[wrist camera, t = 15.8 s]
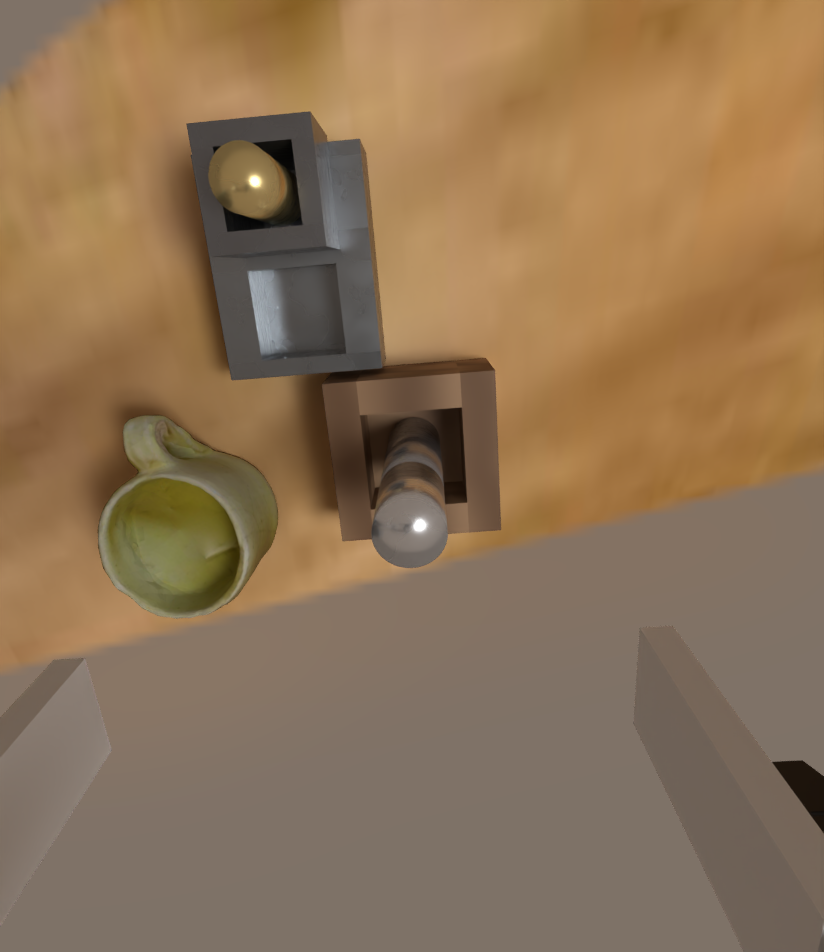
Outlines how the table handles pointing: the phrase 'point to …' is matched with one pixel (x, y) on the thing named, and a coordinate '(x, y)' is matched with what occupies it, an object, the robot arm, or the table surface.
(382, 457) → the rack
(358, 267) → the block
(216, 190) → the yellow capsule
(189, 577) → the mug
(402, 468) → the brushed metal rod
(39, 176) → the table surface
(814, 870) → the robot arm
